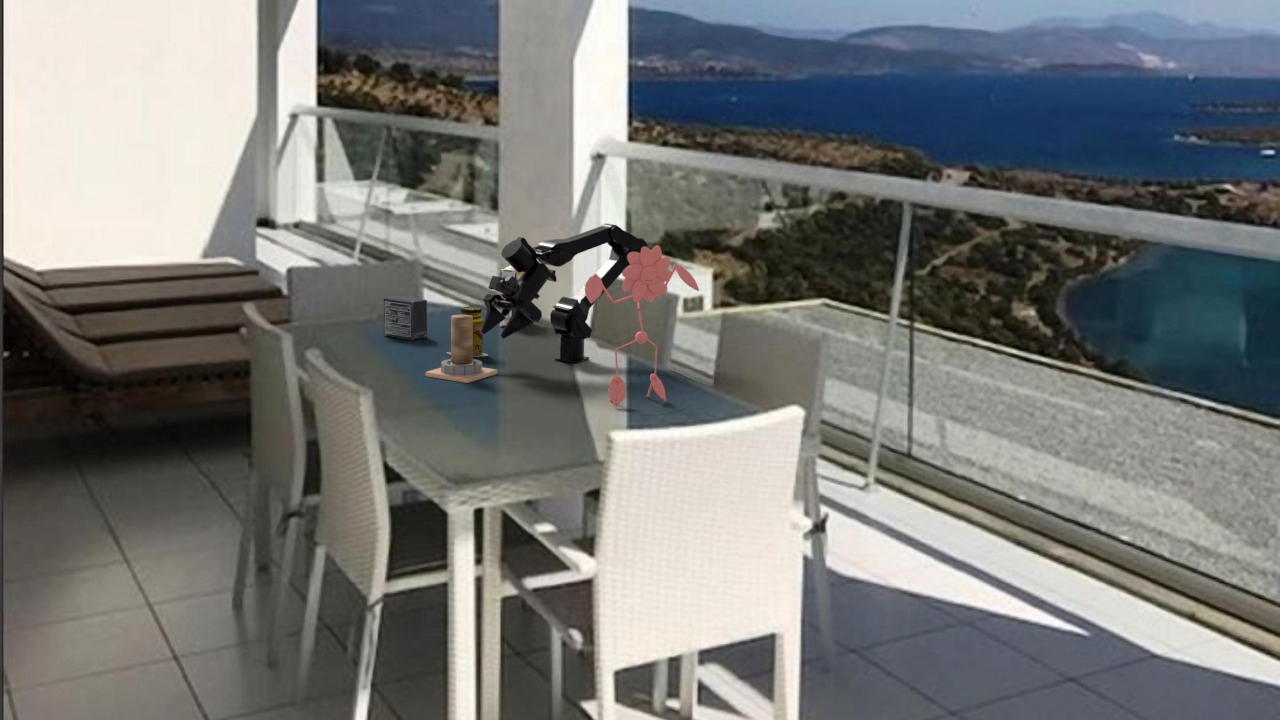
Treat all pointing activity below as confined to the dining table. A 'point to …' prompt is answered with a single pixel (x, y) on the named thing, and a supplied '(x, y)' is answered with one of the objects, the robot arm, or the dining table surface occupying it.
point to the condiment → (475, 329)
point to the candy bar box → (504, 273)
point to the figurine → (645, 283)
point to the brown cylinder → (461, 340)
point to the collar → (461, 372)
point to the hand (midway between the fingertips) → (492, 335)
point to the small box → (405, 317)
